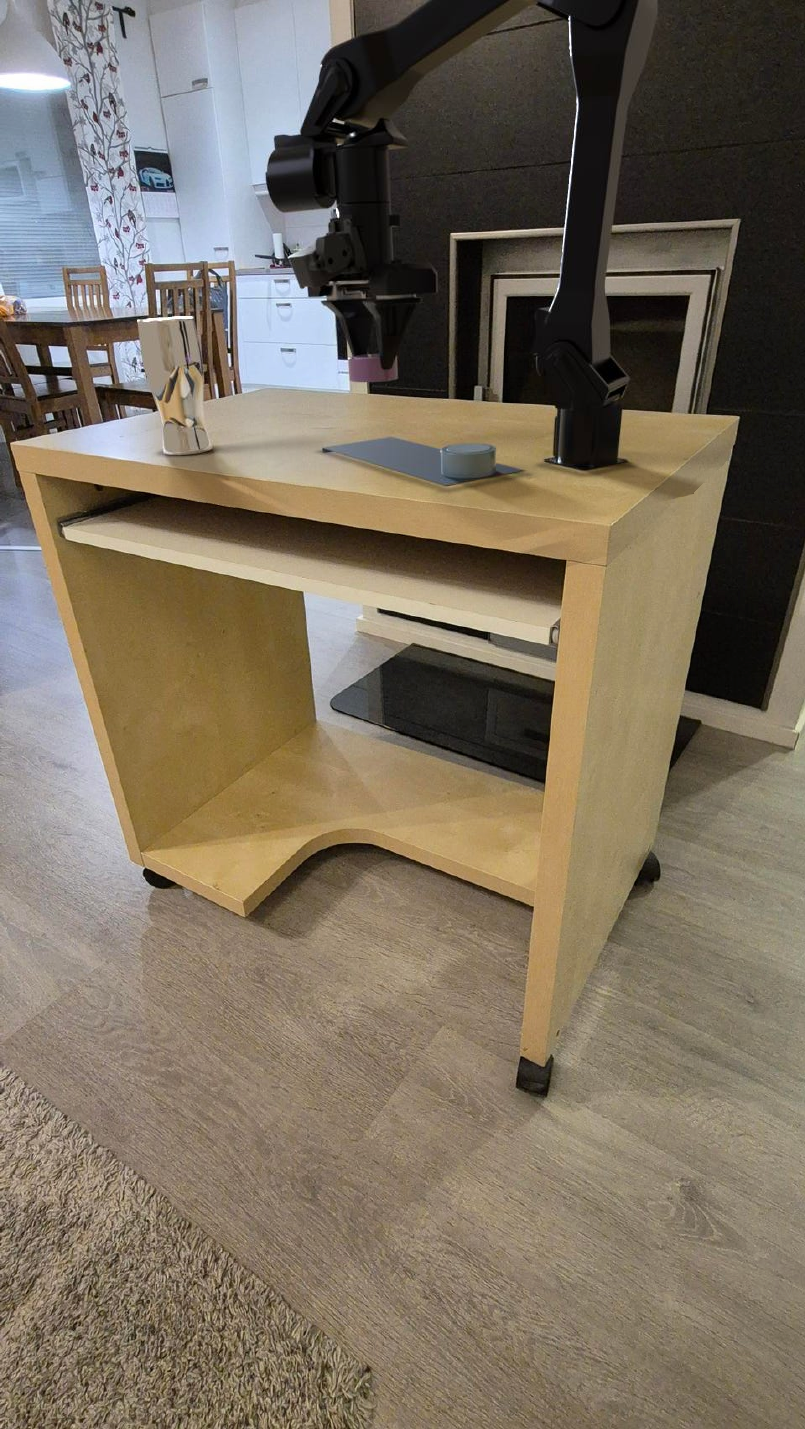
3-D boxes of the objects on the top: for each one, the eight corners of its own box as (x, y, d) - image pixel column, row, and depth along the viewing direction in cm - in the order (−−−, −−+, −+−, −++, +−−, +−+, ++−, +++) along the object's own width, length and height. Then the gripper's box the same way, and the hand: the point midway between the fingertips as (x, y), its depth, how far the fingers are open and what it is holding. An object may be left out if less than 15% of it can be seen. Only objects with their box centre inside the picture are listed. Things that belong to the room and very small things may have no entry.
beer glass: (201, 456, 95) (179, 319, 87) (149, 456, 96) (123, 321, 88) (224, 445, 100) (205, 316, 93) (175, 445, 102) (152, 318, 94)
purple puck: (407, 378, 88) (406, 354, 87) (365, 383, 86) (363, 359, 84) (382, 375, 92) (380, 352, 91) (341, 380, 90) (339, 356, 88)
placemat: (524, 475, 79) (524, 470, 79) (445, 491, 75) (445, 485, 75) (391, 440, 99) (391, 436, 98) (322, 451, 94) (321, 447, 94)
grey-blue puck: (507, 473, 78) (507, 448, 77) (462, 481, 76) (462, 456, 75) (473, 464, 83) (473, 440, 81) (430, 472, 80) (430, 447, 79)
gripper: (257, 213, 84) (275, 369, 92) (339, 195, 70) (352, 381, 78) (346, 213, 89) (356, 361, 97) (439, 196, 75) (442, 370, 83)
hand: (373, 367), depth 88 cm, fingers closed on purple puck, 5 cm apart
